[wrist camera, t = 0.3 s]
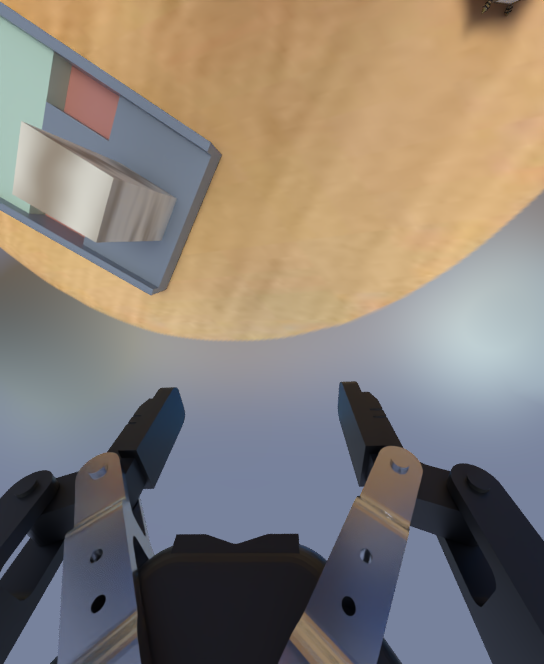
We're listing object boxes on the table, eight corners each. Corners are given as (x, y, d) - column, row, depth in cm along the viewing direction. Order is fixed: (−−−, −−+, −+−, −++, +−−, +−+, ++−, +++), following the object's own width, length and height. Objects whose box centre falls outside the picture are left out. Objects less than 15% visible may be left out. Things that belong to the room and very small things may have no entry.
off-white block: (177, 198, 32) (113, 177, 20) (161, 240, 34) (96, 242, 23) (120, 162, 31) (21, 120, 20) (107, 208, 33) (12, 194, 22)
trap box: (221, 154, 32) (209, 140, 27) (166, 289, 39) (149, 296, 35) (-29, -12, 28) (-93, -61, 23) (-38, 172, 36) (-88, 162, 31)
